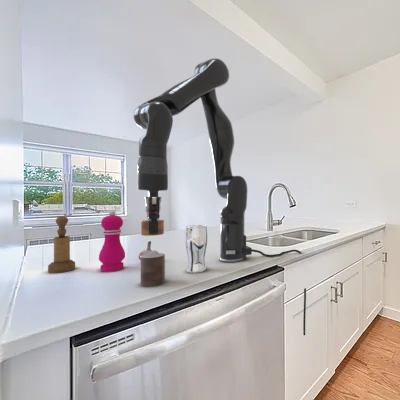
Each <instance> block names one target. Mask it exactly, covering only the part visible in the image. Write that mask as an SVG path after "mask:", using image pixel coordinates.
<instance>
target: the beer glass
mask: <svg viewBox="0 0 400 400" xmlns="http://www.w3.org/2000/svg"><path fill="white" fill-rule="evenodd" d="M184 233H185V236H184V244H185V249H186V255H187V264H186V273H191V274H196V273H202V272H205V271H206V270H207V267H206V266H207V265H206V252H207V245H208V225H206V224H192V225H186V226H185V232H184Z"/></svg>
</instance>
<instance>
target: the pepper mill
mask: <svg viewBox="0 0 400 400" xmlns="http://www.w3.org/2000/svg"><path fill="white" fill-rule="evenodd" d="M123 224H124V220H123V218H122V217H121V216H120V215H116V211H115V210H110V211H109V212H108V215H106V216H104V217H103V218H102V219H101V221H100V226H101V227H102V228H103V230H102V235H104V242H103V245H102V247H101V250H100V252H99V254H98V260H99V262H100V263H101V265H100V272H104V273H108V272H115V271H120V270H123V269H124V262H123V260H124V259H125V258H126V252H125V248H124V247H123V245H122V243H121V237H120V235H121V234H122V229H121V228H122V226H123Z"/></svg>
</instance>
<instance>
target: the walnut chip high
mask: <svg viewBox="0 0 400 400" xmlns="http://www.w3.org/2000/svg"><path fill="white" fill-rule="evenodd" d="M163 269H165V270H166V254H165V253H163V252H158V253H152V254H146V255H142V256H141V261H140V273H141V272H156V271H160V270H163Z"/></svg>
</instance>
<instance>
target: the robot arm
mask: <svg viewBox="0 0 400 400" xmlns="http://www.w3.org/2000/svg"><path fill="white" fill-rule="evenodd" d="M229 79H230V71H229V68H228V66H227V64H226V63H225V62H224V61H223V60H222V59H220V58H215V57H214V58H213V57H212V58H210V59H207V60H204V61H201V62H200V63H197V64H196V66H195V67H194V75H193V76H190V77H189V78H186V79H184V80H182V81H180V82H178V83H177V84H174V85H173V86H171V87H170V88H168V89H166V90H165V91H164V92H162V93H161V94H159V95H158V96H156V97H153V98H151V99H149V100H147V101H145V102H142V103H141V104H139V105H138V106H137V107H136V108H135V109H134V111H133V121H134V122H135V124H136V125H137V126H138V127H140V128H141V129H143V130H146V133H145V134H144V135H143V136H141V137H140V138H139V141H138V161H137V190H138V191H147V196H144V203H145V212H146V218H147V220H148V221H149V234H157V233H158V220H160V218H161V214H160V213H161V210H162V209H161V208H162V207H161V204H162V197H161V196H159V192H161V191H162V192H163V191H164V192H165V191H168V190H169V165H168V143H169V140H170V136H171V133H172V128H173V123H174V118H173V117H175V116H178V115H179V114H181V113H183V112H184V111H185V110H187V109H188V108H190V106H192V105H193V104H194V103H196V102H197V101H198V100H201V104H202V108H203V112H204V118H205V121H206V122H205V123H206V127H207V128H206V129H207V134H208V139H209V143H210V148H211V154H212V161H213V166H214V176H215V188H216V191H217V193H218V195H219V197H221V198H222V199H224V200H227V201H226V205H225V206H224V207H222V208H221V209H220V231H219V233H220V234H219V235H220V240H219V241H220V244H219V245H220V251H219V252H220V253H219V254H220V255H219V256H220V257H219V261H221V262H223V263H237V262H242V261H244V260H247V256H251V255H252V253H258V254H260V255H261V256H263V257H268V258H272V257H273V258H274V257H280V256H282V255H285V254H290V253H298V254H299V255H301V254H302V252H301V251H300V250H298V249H290V250H285V251H282V252H279V253H275V254H274V253H273V254H268V253H267V254H266V253H264V251H263V252H262V251H261V250H258V249H253V248H252V247H250V246H248V245H247V235H246V234H245V224H246V223H245V217H246V216H245V214H246V210H247V206H248V183H247V181H246V179H245V178H244V177H243V176H241V175H233V172H232V171H233V170H232V166H231V165H232V163H231V162H232V155H233V152H234V148H235V143H236V142H235V135H234V133H235V132H234V129H233V124H232V121H231V119H230V118H229V116H228V115H227V114H226V112H225V111H224V110H223V108H222V107H221V106H220V104H219V103H220V102H219V100H218V96H217V92H216V89H217V88H221V87H223V86H225V85H226V84H227V83H228V82H229ZM150 220H151V221H150ZM306 308H307V288H303V321H302V323H303V326H302V329H303V330H302V331H303V333H302V334H303V336H306V313H307V312H306Z"/></svg>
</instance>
